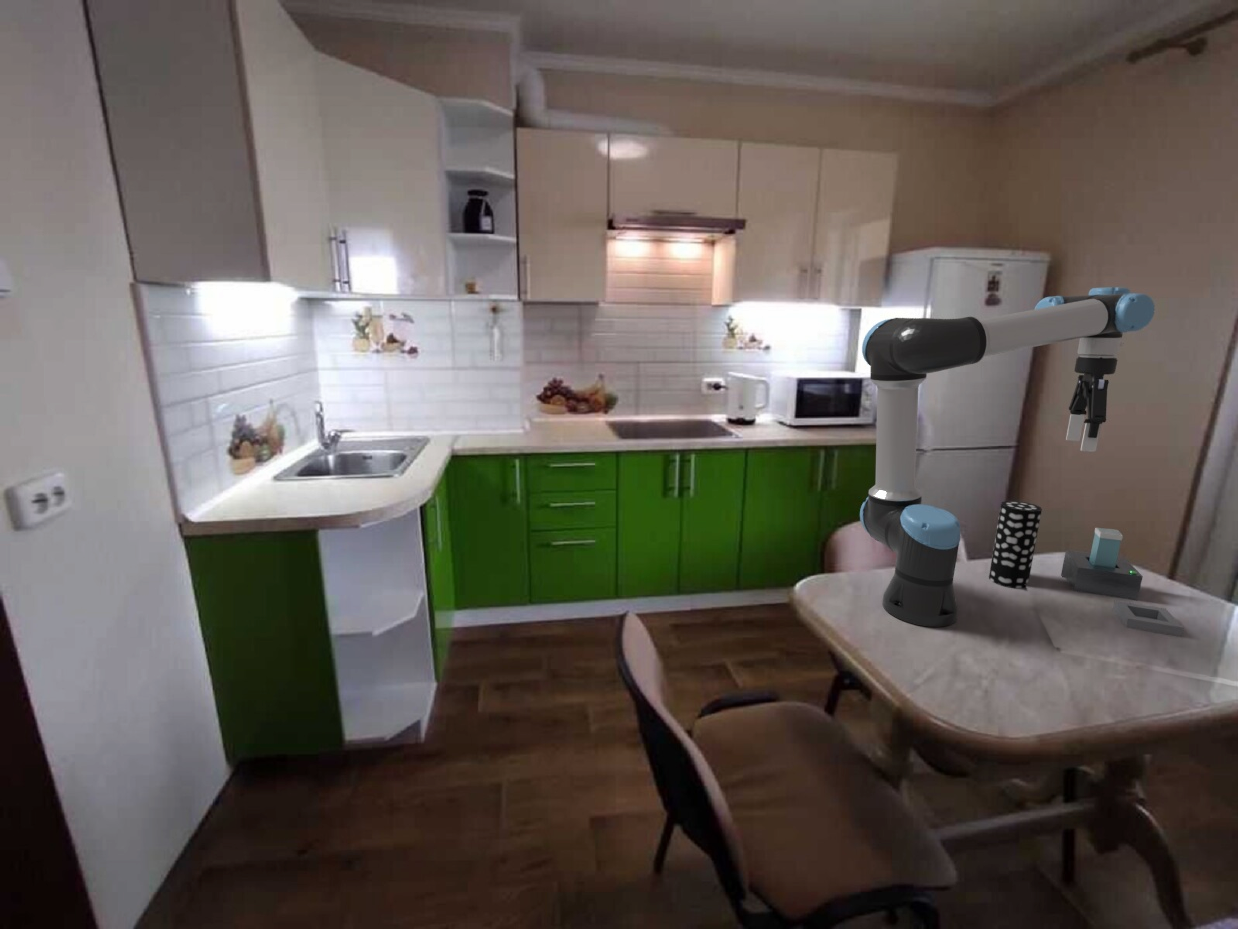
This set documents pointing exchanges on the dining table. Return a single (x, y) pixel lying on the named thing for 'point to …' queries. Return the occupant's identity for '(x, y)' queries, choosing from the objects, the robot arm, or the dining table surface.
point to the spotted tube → (1014, 543)
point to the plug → (1105, 547)
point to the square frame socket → (1147, 618)
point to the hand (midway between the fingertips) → (1079, 445)
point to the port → (1101, 576)
